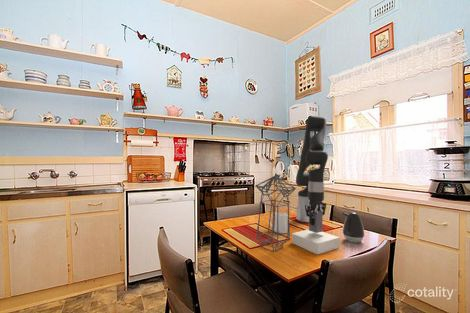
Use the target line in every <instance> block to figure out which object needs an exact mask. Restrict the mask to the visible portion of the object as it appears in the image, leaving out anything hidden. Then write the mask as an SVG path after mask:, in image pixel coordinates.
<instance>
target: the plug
mask: <svg viewBox="0 0 470 313" xmlns="http://www.w3.org/2000/svg"><path fill="white" fill-rule="evenodd" d="M313 212H314V211H313ZM312 215H313V213H312ZM323 216H324V215H323V210H322V211H317V212H316V213H315V217H314V218H315V220H314V226H312V225H310V217H309V222H308V230H309V231H312V232H315V233H318V232H323Z"/></svg>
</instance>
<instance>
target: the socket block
mask: <svg viewBox="0 0 470 313" xmlns="http://www.w3.org/2000/svg"><path fill="white" fill-rule="evenodd" d="M291 243H292V245H293V244H294V245H296V246H298V247H300V248H303V249H304V250H306V251H309V252H311V253H314V254H315V255H321V254H323V253H328V252H330V251H333V250H336V249H339V248H340V236H337V235H333V234H331V233H327V232H324V231H322V232H318V233H315V232H312V231H309V229H304V230H301V231H296V232H292V233H291Z"/></svg>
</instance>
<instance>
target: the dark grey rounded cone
mask: <svg viewBox="0 0 470 313" xmlns="http://www.w3.org/2000/svg"><path fill="white" fill-rule="evenodd" d="M342 214H343V215H344V216H345V217H346V218H345V221H344V222H343V227H342V234H343V237H344V238H345V240H346V241H348V242H350V243H354V244H355V243H356V244H357V243H361V242H362V241H363V240H364V237H365V228H364V225H363V222H362V219H361V217H360V215H359V213H357V212H352V211H351V212H350V213H346V212H345V211H344V212H342Z"/></svg>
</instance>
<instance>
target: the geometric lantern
mask: <svg viewBox="0 0 470 313" xmlns="http://www.w3.org/2000/svg"><path fill="white" fill-rule="evenodd" d="M284 183H285V184H287V185H288V186H289V187H287V186H286V185H285V184H284ZM262 184H264V185H262ZM272 186H274V187H275V188H276V189H271V187H272ZM254 187H255V188H257V189H258V191H260V193H261V196H260V202H259V212H258V219H257V220H258V222H257V229H256V234H255V235H256V238H257V240H258V241H259V242H260V243H261V245H260V247H261V248H262V249H265V250H268V251H270V252H277V251H279V250H281V249H283V248H284V244H286V243H287V242H289V241H291V238H290V237H291V236H290V234H291V230H290V203H289V201H290V200H289V196H291V194H292V193H293V192H294V191H295V190H297V188H296V187H295V186H293V185H292V184H290V183H289V182H287V181H286V180H284V179H282V178H280V177H279V176H278V175H273V176H272V177H269V178H267V179H266V180H263V181H262V182H260V183H258V184H256V185H254ZM269 191H270V192H269ZM276 192H279V194H278V195H277V196H276V197H275V199H273V198H272V197H271V195H273V194H274V193H276ZM281 194H282V198H281V199H280V200H277V199H278V198H279V196H280V195H281ZM264 196H267V197H268V200H263V199H264ZM284 198H286V201H287V202H285V201H283V199H284ZM264 202H270V204H269V203H268V204H267V203H264ZM273 202H274V203H273ZM276 202H278V203H277V204H276ZM280 203H283V204H282V205H280ZM262 205H266V206H270V211H269V217H270V219H271V216H272V215H273V218H272V219H271V220H272V223H271V224H272V227H271V226H270V222H271V221H270V219H269V218H268V219H269V223H268V229H267V232H263V233H261V234H259V231H260V222H261V212H262ZM285 206H287V214H288V228H287V233H286V235H284V234H283V235H282V234H281V233H278V213H279V208H281V207H285ZM275 213H277V232H275V231H274V227H275ZM273 225H274V226H273ZM270 227H271V231H270ZM265 234H267V235H268V238H267V239H263V238H261V237H259V236H263V235H265ZM270 234H271V237H270ZM274 235H276V239H274ZM279 236H280V237H283V238H285V239H283V241H280V240H279ZM274 241H275V242H276V243H274ZM265 245H266V246H269V247H271V248H272V249H270V248H266V247H264V246H265ZM274 245H275V246H274ZM278 247H279V248H278ZM277 248H278V249H277Z"/></svg>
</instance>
